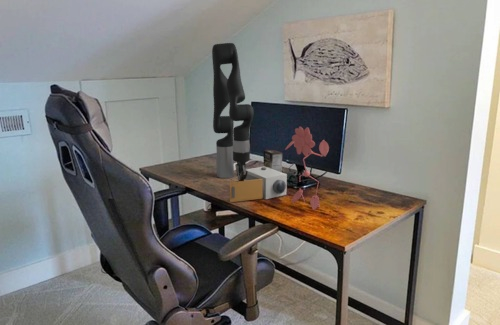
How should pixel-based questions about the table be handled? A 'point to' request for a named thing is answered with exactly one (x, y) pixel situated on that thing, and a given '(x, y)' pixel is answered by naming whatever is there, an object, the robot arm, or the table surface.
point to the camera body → (269, 181)
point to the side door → (246, 190)
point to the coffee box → (273, 159)
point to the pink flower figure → (304, 145)
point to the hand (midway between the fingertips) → (241, 187)
